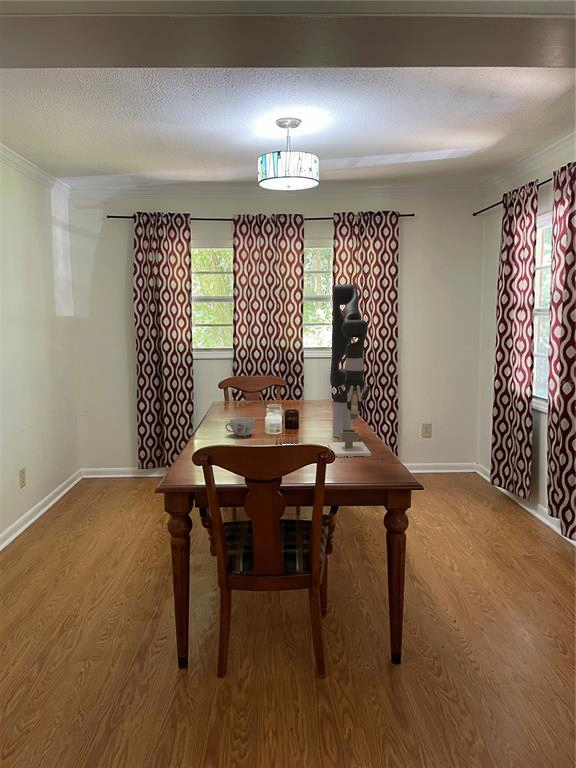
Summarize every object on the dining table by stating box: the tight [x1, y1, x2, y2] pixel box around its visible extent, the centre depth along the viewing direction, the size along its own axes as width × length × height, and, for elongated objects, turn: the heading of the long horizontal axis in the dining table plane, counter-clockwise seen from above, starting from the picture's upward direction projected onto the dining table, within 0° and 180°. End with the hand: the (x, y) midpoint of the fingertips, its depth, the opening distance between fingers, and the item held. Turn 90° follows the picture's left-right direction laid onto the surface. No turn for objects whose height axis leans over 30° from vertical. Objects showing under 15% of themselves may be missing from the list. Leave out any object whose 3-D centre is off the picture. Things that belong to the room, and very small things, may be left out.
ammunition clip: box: [274, 435, 299, 446], centre depth 232 cm, size 11×2×12 cm, turn 117°
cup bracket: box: [327, 428, 372, 458], centre depth 257 cm, size 20×16×9 cm
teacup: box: [225, 417, 256, 437], centre depth 288 cm, size 15×12×8 cm
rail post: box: [350, 390, 359, 420], centre depth 242 cm, size 3×3×12 cm
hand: (353, 409), depth 242 cm, fingers closed on rail post, 3 cm apart
